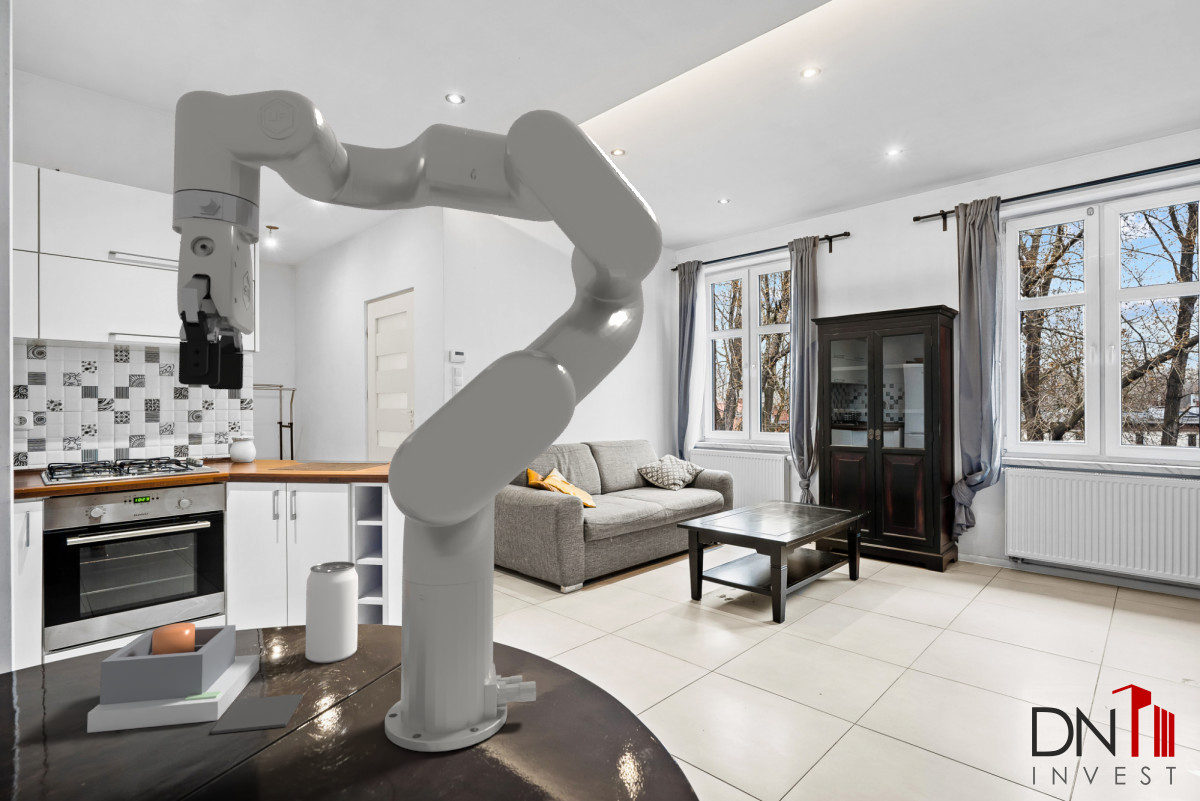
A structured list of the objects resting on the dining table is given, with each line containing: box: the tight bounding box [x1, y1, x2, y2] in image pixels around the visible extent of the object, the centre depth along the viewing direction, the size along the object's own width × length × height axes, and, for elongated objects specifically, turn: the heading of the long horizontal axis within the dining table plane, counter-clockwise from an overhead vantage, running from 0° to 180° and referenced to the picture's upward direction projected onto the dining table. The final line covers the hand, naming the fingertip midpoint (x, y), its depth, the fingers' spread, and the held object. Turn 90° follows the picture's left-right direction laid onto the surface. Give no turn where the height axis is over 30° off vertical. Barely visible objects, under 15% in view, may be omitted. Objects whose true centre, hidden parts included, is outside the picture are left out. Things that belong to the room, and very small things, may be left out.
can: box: [305, 561, 359, 664], centre depth 82 cm, size 6×6×12 cm
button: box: [152, 622, 196, 655], centre depth 69 cm, size 4×4×3 cm
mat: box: [210, 693, 304, 735], centre depth 66 cm, size 7×7×1 cm
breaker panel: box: [86, 624, 260, 734], centre depth 69 cm, size 12×13×6 cm
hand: (213, 387), depth 61 cm, fingers open, 9 cm apart
